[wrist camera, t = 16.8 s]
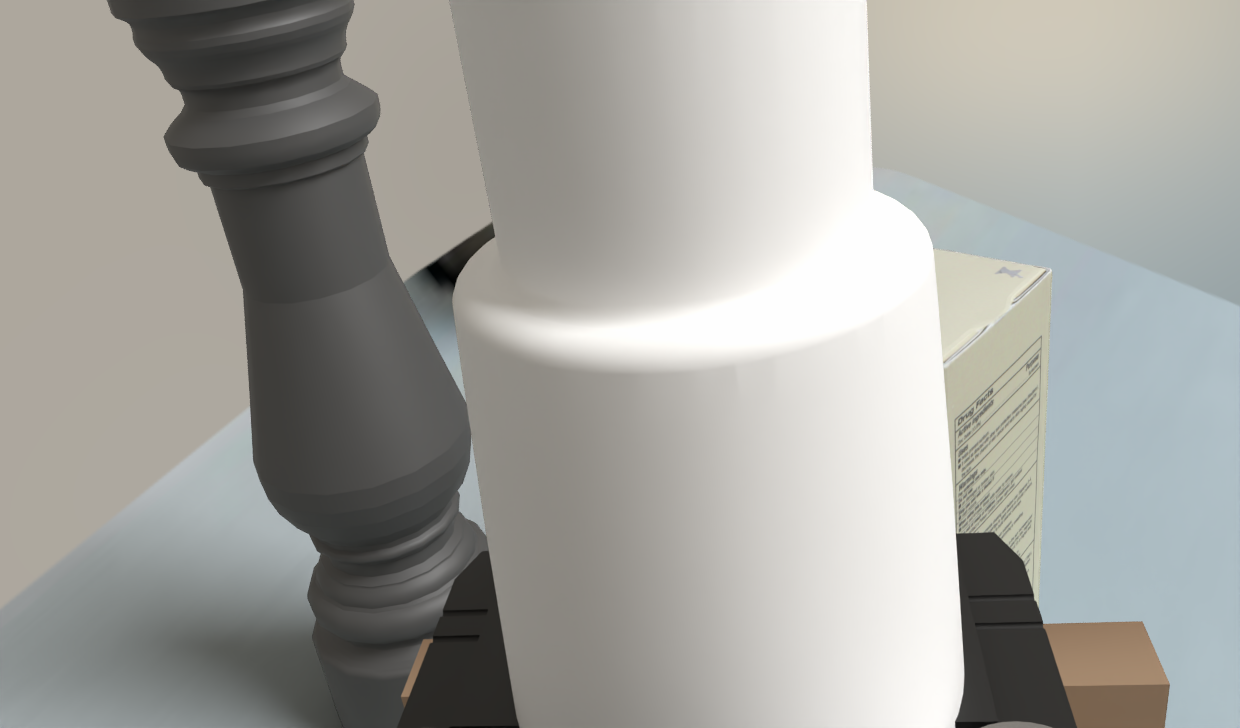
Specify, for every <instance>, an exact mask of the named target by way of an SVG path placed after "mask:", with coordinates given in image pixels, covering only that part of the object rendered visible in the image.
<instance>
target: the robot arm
mask: <svg viewBox="0 0 1240 728" xmlns="http://www.w3.org/2000/svg"><path fill="white" fill-rule="evenodd" d="M956 546H957V562H958V578H959V593H960V609H961V625H962V641H963V657H964V688H963V696H962V701H961V705H960V709H959V713H958V716H957V718H956V720H955V728H1077V725H1076V722H1075V719H1074V716H1073V713H1072V710H1071V707H1070V704H1069V701H1068V698H1067V695H1066V691H1065V688H1064V685H1063V682H1062V679H1061V676H1060V673H1059V670H1058V667H1057V664H1056V661H1055V657H1054V654H1053V651H1052V648H1051V645H1050V642H1049V639H1048V636H1047V633H1046V630H1045V629H1044V628H1043V620H1042V617H1041V614H1040V611H1039V608H1038V605H1037V602H1036V601H1035V600H1034V592H1033V589H1032V586H1031V583H1030V580H1029V577H1028V574H1027V571H1026V568H1025V565H1024V562H1023V560H1022V559H1021V558H1020V557H1019V556H1018V555H1017V554H1016V553H1015V552H1014V551H1013V550H1012V549H1011V548H1010V547H1009V546H1008V545H1007V544H1006V543H1005V542H1004V541H1003V540H1002V539H1001V538H1000V537H999V536H998V535H997V534H996V533H995V532H984V533H958V534H956ZM397 728H520V727H519V723H518V720H517V716H516V710H515V705H514V699H513V693H512V687H511V681H510V675H509V669H508V663H507V657H506V651H505V645H504V639H503V633H502V627H501V621H500V615H499V609H498V603H497V597H496V591H495V585H494V578H493V572H492V566H491V560H490V554H489V551H482V552H481V553H480V554H479V555H478V556H477V557H476V558H475V559H474V560H473V561H472V562H471V563H470V564H469V565H468V566H467V567H466V568H465V569H464V570H463V571H462V572H461V573H460V574H459V575H458V576H457V577H456V578H455V580H454V582H453V585H452V588H451V590H450V593H449V595H448V598H447V600H446V603H445V606H444V608H443V617H440V618H439V621H438V623H437V626H436V629H435V631H434V634H433V642H432V643H430V644H429V647H428V649H427V652H426V654H425V657H424V659H423V662H422V664H421V667H420V670H419V672H418V675H417V677H416V680H415V682H414V685H413V688H412V690H411V693H410V695H409V698H408V700H407V703H406V706H405V708H404V711H403V713H402V716H401V718H400V721H399V723H398V726H397Z"/></svg>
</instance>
